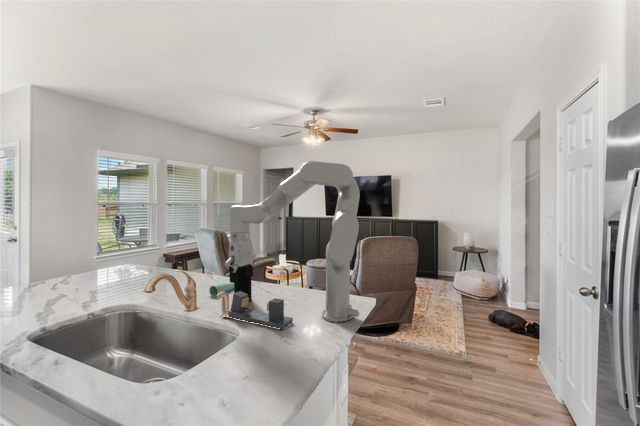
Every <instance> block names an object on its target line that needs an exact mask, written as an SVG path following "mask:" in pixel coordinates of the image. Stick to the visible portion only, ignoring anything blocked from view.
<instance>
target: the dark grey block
mask: <svg viewBox="0 0 640 426" xmlns="http://www.w3.org/2000/svg"><path fill="white" fill-rule="evenodd" d="M231 300H232V301H231V306H230V308H231V310H232V311H234V312H239V313H241V312H243V311H245V308H246V307H248V305H249V303H248V302H249V298H248V294H246V293H244V292H242V291H239V292H236V293H234V292H233V295H232V299H231Z"/></svg>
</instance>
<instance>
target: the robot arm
mask: <svg viewBox="0 0 640 426" xmlns="http://www.w3.org/2000/svg"><path fill="white" fill-rule="evenodd" d="M315 185H319V186H327V187H328V186H329V187H334V188H336V190H337V195H338V196H337V201H336V207H335V211H334V212H335V213H334V216H333V218H332V221H331V225H332V230H331V235H330V239H329V241H328V243H327V244H326V247H325V310H323V311H322V312H321V317H322V318H323V319H324V318H325V319H327V320H326V321H328V320H330V321H329V322H331V321H346V322H348V321H347V320H349V321H351V320H353V318H354V317H357V318H359V316H360V311H359V310H358V309H356V308H355V309H354V308H353V305H352V304H350V294H351V293H350V287H351V284H350V281H351V280H350V279H351V266H350V265H351V262H352V259H353V256H354V253H355V249H356V243H357V239H358V236H359V235H358V234H359V228H360V225H359V221H358V218H357V215H358V209H359V202H360V195H361V194H360V193H361V192H360V188H359V185H358V182H357V180H356V179H355V178H354V173H353V171H352V169H351V168H350V167H349V166H348V165H346V164H344V163H335V162H324V161H314V160H309V161H306V162H305V161H304V163H303V164H302V165H301V166H300V168H299V169H298V170H297V171H295V172H294V173H293V174H291V176H289V177H288V178H286V179H285V180H284V181H282V182H281V183H280V184H279V185H277V187H276V189H275V191H274V192H273V193H271V194H270V195H269V196H268V197H267V198H265V199H264V200H263V201H261V202H260V203H258V204H253V205H252V204H251V205H242V204H241V205H232V206H230V207H229V230H230V235H229V238H230V241H229V247H228V248H229V249H228V259H226V261H225V262H224V266H225V269H226V270H227V273H229V283H237V272H236V270H237V268H238V267H242V266H245V265H247V266H246V276H249V277H251V278H252V277H254V265H255V264H254V263H255V262H256V258H257V257H256V254H255V253H254V246H253V242H252V239H251V228H250V225H251V224H255V225H258V224H259V225H260V224H263V223H265V222H267V221H268V220H270V219H271V218H273V217H274V216H275V215H276V214H278V213H279V212H280V211H281V210H283V209H284V208H286V207H287V206H288V205H290V204H292V203H293V202H294V201H295V200H297V199H298V198H299V197H301V196H302V195H303V194H305V193H306V192H308V191H309V190H310V189H311V188H313V187H314V186H315ZM325 319H324V320H325ZM350 319H351V320H350Z"/></svg>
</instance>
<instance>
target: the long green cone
mask: <svg viewBox="0 0 640 426" xmlns="http://www.w3.org/2000/svg"><path fill="white" fill-rule="evenodd" d="M229 290H230V291H232V290H234V283H231V282H226V283H220V284H215V285H211V286H210V287H209V290H208V291H209V292H208V293H209V295H210V296H211V297H215V298H216V294H218V293H219V292H220V291H228V292H230V291H229Z"/></svg>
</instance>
